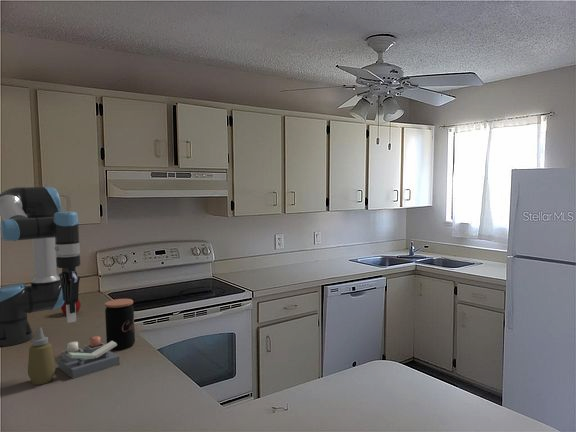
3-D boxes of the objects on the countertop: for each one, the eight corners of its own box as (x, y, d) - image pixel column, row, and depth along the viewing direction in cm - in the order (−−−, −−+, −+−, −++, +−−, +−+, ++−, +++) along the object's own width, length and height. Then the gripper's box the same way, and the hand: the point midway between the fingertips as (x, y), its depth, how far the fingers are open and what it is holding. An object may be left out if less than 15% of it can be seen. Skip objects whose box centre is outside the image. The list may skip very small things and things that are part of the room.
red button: (88, 346, 162) (88, 337, 162) (98, 344, 165) (98, 335, 164) (92, 349, 160) (92, 339, 159) (102, 346, 162) (102, 337, 162)
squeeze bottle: (61, 377, 147) (59, 325, 146) (41, 388, 140) (38, 332, 139) (43, 374, 150) (40, 323, 149) (22, 385, 143) (19, 330, 141)
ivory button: (65, 352, 156) (65, 343, 156) (76, 350, 159) (75, 340, 159) (69, 355, 154) (69, 345, 154) (80, 352, 156) (79, 343, 156)
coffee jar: (125, 351, 171) (123, 305, 170) (101, 349, 173) (99, 304, 172) (140, 341, 181) (138, 299, 180) (116, 340, 183) (115, 298, 182)
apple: (61, 312, 227) (60, 293, 227) (81, 310, 231) (80, 291, 231) (61, 317, 219) (60, 297, 218) (81, 314, 223) (80, 295, 222)
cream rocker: (93, 357, 156) (91, 353, 156) (113, 344, 162) (111, 340, 161) (97, 360, 154) (95, 355, 153) (118, 347, 159) (116, 343, 159)
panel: (58, 367, 156) (57, 352, 156) (103, 354, 168) (102, 340, 167) (73, 378, 147) (72, 362, 146) (119, 364, 158) (118, 349, 158)
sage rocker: (66, 357, 150) (68, 352, 150) (89, 358, 156) (91, 353, 156) (70, 360, 147) (72, 355, 148) (93, 361, 153) (95, 355, 153)
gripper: (50, 255, 156) (53, 320, 157) (63, 258, 147) (67, 327, 148) (72, 252, 161) (75, 316, 163) (86, 255, 152) (89, 322, 154)
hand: (71, 321), depth 155 cm, fingers closed
